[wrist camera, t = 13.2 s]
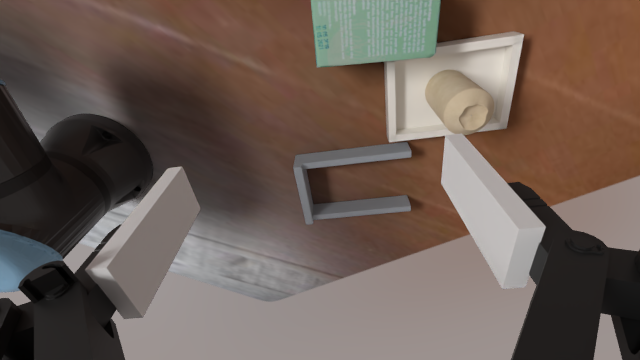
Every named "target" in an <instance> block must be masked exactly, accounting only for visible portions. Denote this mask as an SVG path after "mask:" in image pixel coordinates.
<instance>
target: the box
mask: <svg viewBox="0 0 640 360" xmlns="http://www.w3.org/2000/svg"><path fill="white" fill-rule="evenodd" d="M440 4H441V0H311V8H312V19H313V30H314V41H315V53H316V64H317V67H332V66H342V65H352V64H362V63H372V62H384V61H395V60H405V59H416V58H430V57H432V56H434V54H435V53H436V46H437V34H438V24H439V14H440Z"/></svg>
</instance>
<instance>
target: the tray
mask: <svg viewBox="0 0 640 360" xmlns="http://www.w3.org/2000/svg"><path fill="white" fill-rule="evenodd" d="M523 38H524V34H521V33H518V32H507V33H500V34H494V35H487V36H480V37H474V38H467V39H460V40H454V41H447V42H440V43H437V46H436V53H435V54H434V56H432V57H430V58H416V59H405V60H395V61H384V75H385V102H386V129H387V138H388V140H389V142H396V141H405V140H413V139H422V138H430V137H439V136H445V135H452V134H454V133H452V132H450V131H449V130H448V129H447V128H446V126H445V125H444V124H443V122H442V121H441V120H440V119H439V117H438V116H437V115H436V113H435V112H434V111H433V110H432V108H431V107H430V106H429V104H428V103H427V101H426V97H425V89H426V86H427V84H428V82H429V80H430V79H431V78H432V77H433V76H434V75H435V74H437V73H439V72H441V71H443V70H456V71H459V72H460V73H462V74H463V75H465V76H466V77H468V78H469V79H470V80H472V81H473V82H474V83H476V84H477V85H479V86H480V87H481V88H483V89H484V90H485V91H487V92H488V93H489V94H490V95H491V96H492V98H493V100H494V112H493V115H492V117H491V119H490V121H489V122H488V123H487V124H486V125H485V126H484V127H483V128H482V129H480V130H479V131H477V132H481V131H489V130H498V129H506V128H507V123H508V118H509V113H510V107H511V102H512V97H513V91H514V86H515V81H516V75H517V70H518V64H519V59H520V54H521V48H522V43H523Z"/></svg>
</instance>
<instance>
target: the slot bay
mask: <svg viewBox="0 0 640 360" xmlns="http://www.w3.org/2000/svg"><path fill="white" fill-rule="evenodd" d="M408 157H411V149H410V147H409V145H408V143H407V142H402V143H393V144H385V145H376V146H368V147H359V148H351V149H342V150H334V151H325V152H317V153H308V154H300V155H296V156H295V161H294V166H293V169H294V174H295V178H296V183H297V187H298V191H299V196H300V200H301V205H302V209H303V213H304V218H305V222H306V225H308V224H313V220H319V219H330V218H340V217H351V216H362V215H372V214H383V213H393V212H404V211H411V205H410V202H409V199H408V197H407V195H403V196H393V197H383V198H373V199H363V200H353V201H343V202H333V203H323V204H313V200H312V195H311V190H310V185H309V180H308V175H307V170H306V169H310V168H319V167H328V166H337V165H346V164H355V163H364V162H373V161H382V160H390V159H399V158H408Z"/></svg>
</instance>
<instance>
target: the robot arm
mask: <svg viewBox="0 0 640 360" xmlns="http://www.w3.org/2000/svg"><path fill="white" fill-rule="evenodd" d="M5 85H6V83H5V82H4V81H3V80H1V79H0V292H15V291H20V290H21V291H22V292H23V293H24V294H25V295H26V296H27V297H28V298H29V299H30V300H31V302H28V303H25V304H22V305H19V306H16V305H15V304H14V303H13V302H12V301H11V300H10V299H9V298H1V299H0V360H125V358H124V354H123V350H122V347H121V343H120V340H119V336H118V332H117V328H116V324H115V323H114V321H113V320H112V319H111V317H112V316H113V314H114V312H115V311H116V309H117V311H118V312H119V313H120V314H121V316H122V317H123V318H124V319H129V318H142V317H143V316H144V315H145V313H146V311H147V309H148V307H149V305H150V303H151V301H152V299H153V298H154V296H155V294H156V292H157V290H158V288H159V286H160V284H161V282H162V280H163V279H164V277H165V275H166V273H167V271H168V269H169V268H170V266H171V264H172V262H173V260H174V258H175V256H176V254H177V253H178V251H179V249H180V247H181V245H182V243H183V241H184V239H185V237H186V236H187V234H188V232H189V230H190V228H191V226H192V224H193V222H194V220H195V219H196V217H197V215H198V213H199V211H200V209H201V208H200V206H199V204H198V201H197V199H196V197H195V195H194V192H193V190H192V188H191V185H190V183H189V181H188V178H187V176H186V174H185V172H184V169H183V167H174V168H168V169H167V170H166V171H165V172H164V174H163V175H162V176H161V177H160V179H159V180H158V181H157V182H156V183H155V185H154V186H153V187H152V188H151V190H150V191H149V192H148V193H147V194H146V196H145V197H144V198H143V199H142V201H141V202H140V203H139V204H138V205H137V207H136V208H135V209H134V210H133V212H132V213H131V214H130V215H129V216H128V218H127V219H126V220H125V221H124V223H123V224H122V225H119V226H117V227H116V228H115V229H113V230H112V231H111V232H109V233H108V234H107V236H106V237H105V238H104V239H103V240H102V242H101V244H99V245H98V246H97V247H96V249H95V251H94V252H92V253H91V255H90V256H89V257H88V258H87V259H86V261H85V262H84V263H83V264H82V265H81V266H80V268H79V269H78V270H77V271H76V272H75V274H74V273H73V272H72V271H71V270H70V269H69V268H68V266H67V265H66V264H65V263H64V261H63V259H64V258H65V256H66V255H67V254H68V253H69V252H70V251H71V250H72V249H73V248H74V247H75V246H76V245H77V244H78V243H79V242H80V241H81V239H82V238H83V237H84V236H85V235H86V234H87V233H88V232H89V231H90V230H91V229H92V228H93V227H94V226H95V224H96V223H97V222H98V221H99V220H100V219H101V218H102V217H103V216H104V215H105V214H106V213H107V212H108V211H110V210H112V209H114V208H117V207H119V206H121V205H123V204H125V203H127V202H129V201H131V200H133V199H135V198H136V197H138V196H139V195H140V194H141V193H142V192H143V191H144V190H145V188H146V187H147V186H148V185H149V183H150V181H151V179H152V174H153V168H152V162H151V159H150V156H149V154H148V152H147V150H146V149H145V147H144V146H143V144H142V143H141V142H140V141H139V139H138V138H137V137H136V136H135V135H134V134H132V133H131V132H130V131H129V130H128V129H126V128H125V127H123V126H122V125H120V124H118V123H116V122H114V121H112V120H110V119H108V118H105V117H102V116H98V115H92V114H78V115H73V116H70V117H68V118H66V119H64V120H62V121H61V122H59V123H57V124H55V125H54V126H53V127H52V128H51V129H50V130H49V131H48V132H47V134H46V135H45V137H44V138H43V139H42V141H41V142H39V141H38V139H37V137H36V136H35V134H34V132H33V131H32V129H31V128H30V126H29V124H28V123H27V121H26V119H25V118H24V116H23V115H22V113H21V111H20V110H19V108H18V106H17V105H16V103H15V101H14V100H13V98H12V97H11V95H10V93H9V92H8V90H7V88H6V87H5ZM441 184H442V185H443V187H444V189H445V191H446V192H447V194H448V196H449V198H450V199H451V201H452V203H453V204H454V206H455V208H456V210H457V211H458V213H459V215H460V217H461V218H462V220H463V222H464V223H465V225H466V227H467V229H468V230H469V232H470V234H471V236H472V237H473V239H474V241H475V242H476V244H477V246H478V248H479V249H480V251H481V253H482V255H483V256H484V258H485V260H486V261H487V263H488V265H489V266H490V268H491V270H492V272H493V274H494V275H495V277H496V279H497V280H498V282H499V284H500V286H501V287H502V289H507V288H521V287H526V284H527V281H528V278H529V276H531V278H532V279H533V281H534V282H535V284H536V285H537V286H536V289H535V291H534V294H533V297H532V300H531V302H530V306H529V309H528V312H527V315H526V318H525V320H524V324H523V326H522V329H521V332H520V335H519V338H518V341H517V344H516V347H515V349H514V353H513V355H512V358H511V360H593V358H594V352H595V346H596V339H597V333H598V327H599V319H600V314H601V313H603V314H608V315H611V317H612V321H613V325H614V329H615V333H616V337H617V340H618V344H619V348H620V352H621V355H622V359H623V360H640V250H639V251H631V250H622V249H615V248H608V247H607V246H606V245H605V244H604V243H603V242H602V241H601V240H599V239H597V238H596V237H594V236H592V235H589V234H587V233H584V232H579V231H574V230H572V229H571V228H570V227H569V226H568V225H567V224H566V223H565V222H564V221H563V220H562V219H561V218H560V217H559V216H558V215H557V214H556V213H555V212H554V211H553V210H552V209H551V208H550V207H549V206H547V204H546V203H545V202H544V201H543V200H542V199H540V197H539V196H538V195H537V194H536V193H535V192H534V191H533V190H532V189H531V188H529V187H527V186H525V185H523V184H522V183H520V182H514V183H506V182H505V181H504V180H503V178H502V177H501V176H500V175H499V174H498V173H497V172H496V171H495V170H494V168H493V167H492V166H491V165H490V164H489V163H488V162H487V161H486V160H485V158H484V157H483V156H482V155H481V154H480V153H479V152H478V151H477V150H476V148H475V147H474V146H473V145H472V144H471V143H470V142H469V141H468V140H467V138H466V137H465V136H464V135H463V134H462V133H460V134H452V135H445V145H444V156H443V167H442V179H441Z"/></svg>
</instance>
